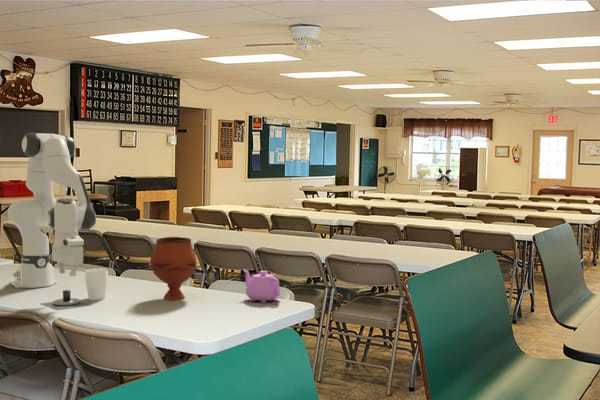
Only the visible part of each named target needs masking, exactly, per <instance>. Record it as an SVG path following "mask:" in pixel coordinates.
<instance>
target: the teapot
mask: <svg viewBox="0 0 600 400" xmlns="http://www.w3.org/2000/svg"><path fill="white" fill-rule="evenodd" d="M242 271H244V273H245V286H246V288H245V295H246V296H247V297H248V298H249V299H250V301H251V302H255V301H260V303H261V304H266V303H267V301H272V302H275V301H276V299H278V297H280V296H281V288H280V280H279V278H277V277H275V276H274V275H273V274H271V273H267V271H266V270H260V271H259V273H257V274H253V275H252V276H251V274H250V272H249V271H248V270H247V269H242Z"/></svg>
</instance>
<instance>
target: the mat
mask: <svg viewBox="0 0 600 400" xmlns="http://www.w3.org/2000/svg"><path fill="white" fill-rule="evenodd" d="M39 305H41V306H45V307H48V308H50V309H53V310H55V311H61V310H69V309H74V308H75V309H77V308H81V307H82V308H84V307H89V306H91V304H90V303H86V302H83V301H81V300H80V304H77V305H73V306H55V305H53V301H50V302H49V301H48V302H42V303H39Z"/></svg>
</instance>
